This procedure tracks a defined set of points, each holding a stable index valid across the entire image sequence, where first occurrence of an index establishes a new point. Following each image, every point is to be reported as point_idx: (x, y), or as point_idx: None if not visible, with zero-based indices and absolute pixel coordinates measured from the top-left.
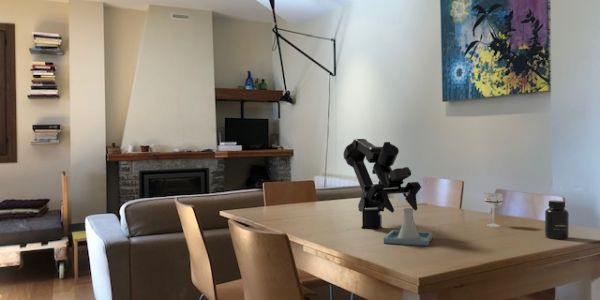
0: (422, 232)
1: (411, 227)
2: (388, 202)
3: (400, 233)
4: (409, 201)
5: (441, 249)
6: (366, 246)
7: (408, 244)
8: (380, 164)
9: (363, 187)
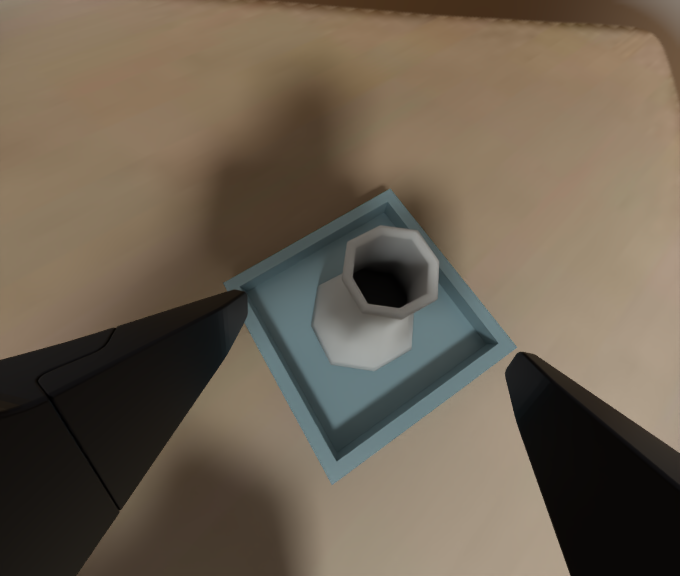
0: (255, 316)
1: (385, 270)
2: (662, 447)
3: (411, 330)
4: (134, 458)
5: (383, 151)
6: (601, 358)
7: None
8: None
9: None
